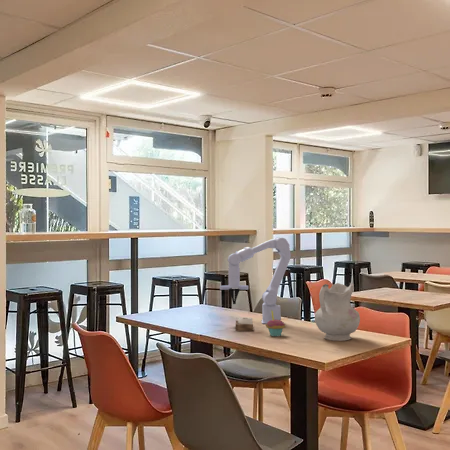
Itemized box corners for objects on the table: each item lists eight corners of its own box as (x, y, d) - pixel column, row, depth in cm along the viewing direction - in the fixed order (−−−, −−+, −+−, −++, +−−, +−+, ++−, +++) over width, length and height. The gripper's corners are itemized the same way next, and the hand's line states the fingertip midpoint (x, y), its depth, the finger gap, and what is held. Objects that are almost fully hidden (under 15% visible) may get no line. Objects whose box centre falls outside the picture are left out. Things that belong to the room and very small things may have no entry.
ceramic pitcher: (347, 348, 233) (351, 288, 232) (303, 339, 244) (307, 282, 243) (364, 339, 252) (368, 283, 251) (323, 331, 262) (326, 278, 261)
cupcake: (272, 337, 250) (272, 310, 250) (262, 334, 258) (262, 308, 258) (288, 335, 254) (288, 309, 254) (278, 332, 262) (278, 306, 262)
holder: (252, 326, 278) (252, 320, 278) (252, 330, 267) (252, 324, 267) (235, 326, 278) (235, 320, 278) (235, 330, 267) (235, 324, 267)
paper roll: (252, 327, 276) (251, 316, 276) (252, 330, 269) (252, 319, 269) (238, 327, 276) (238, 317, 276) (238, 330, 269) (238, 319, 269)
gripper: (219, 277, 284) (219, 304, 284) (248, 277, 283) (248, 304, 283) (220, 276, 291) (220, 303, 291) (248, 276, 290) (248, 302, 290)
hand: (234, 303), depth 287 cm, fingers closed
